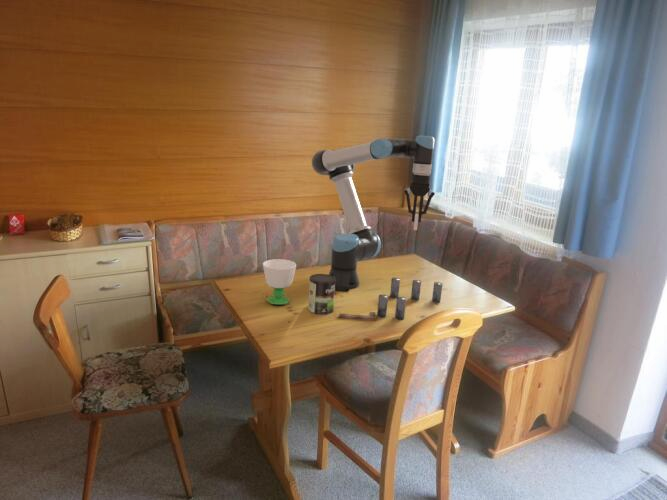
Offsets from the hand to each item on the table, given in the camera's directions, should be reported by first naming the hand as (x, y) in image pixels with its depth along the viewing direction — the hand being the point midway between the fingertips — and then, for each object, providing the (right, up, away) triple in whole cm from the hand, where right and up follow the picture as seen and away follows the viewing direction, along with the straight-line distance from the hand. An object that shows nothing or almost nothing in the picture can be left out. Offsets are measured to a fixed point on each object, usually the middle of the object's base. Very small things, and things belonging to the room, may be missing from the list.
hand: (415, 229), depth 207 cm
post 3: (-9, -36, -18) cm, 41 cm away
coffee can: (-40, -33, -15) cm, 54 cm away
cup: (-58, -30, -6) cm, 65 cm away
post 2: (-9, -30, +4) cm, 31 cm away
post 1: (-16, -35, -17) cm, 42 cm away
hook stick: (-26, -35, -19) cm, 48 cm away
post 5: (+9, -32, +2) cm, 33 cm away
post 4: (0, -31, +3) cm, 31 cm away
